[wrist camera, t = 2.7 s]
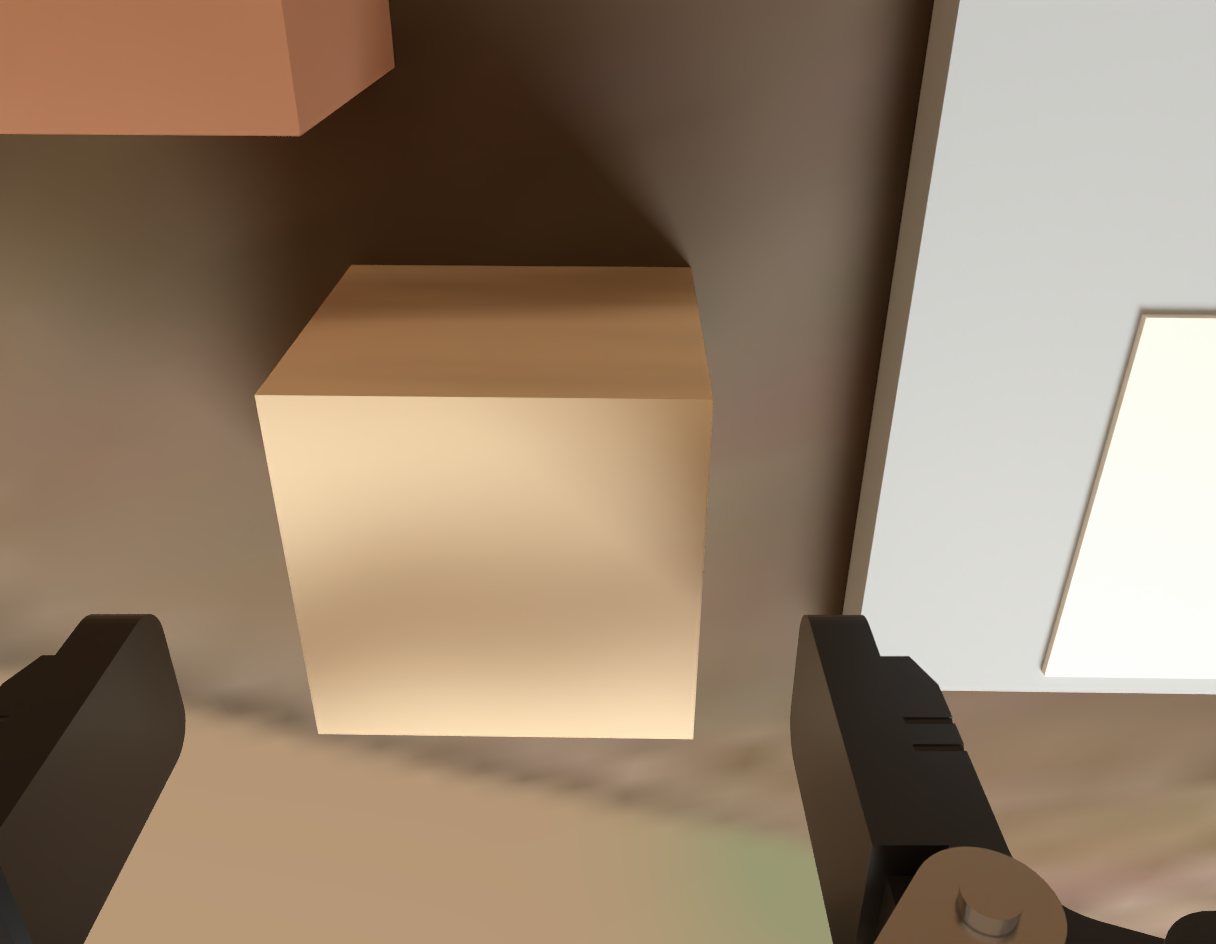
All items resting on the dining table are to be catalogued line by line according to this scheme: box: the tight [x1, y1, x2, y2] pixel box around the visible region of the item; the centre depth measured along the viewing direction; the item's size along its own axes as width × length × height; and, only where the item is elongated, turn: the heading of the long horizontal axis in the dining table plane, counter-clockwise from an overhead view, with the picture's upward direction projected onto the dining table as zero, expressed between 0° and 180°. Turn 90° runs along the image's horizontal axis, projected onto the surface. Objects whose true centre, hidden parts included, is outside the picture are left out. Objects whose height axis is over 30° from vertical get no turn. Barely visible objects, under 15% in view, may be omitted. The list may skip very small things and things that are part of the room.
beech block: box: [255, 265, 713, 739], centre depth 16 cm, size 6×6×5 cm
